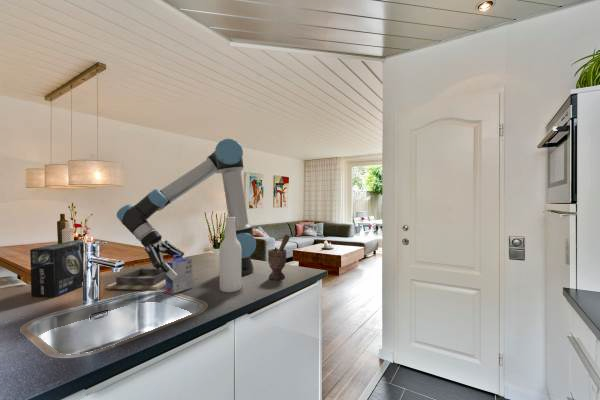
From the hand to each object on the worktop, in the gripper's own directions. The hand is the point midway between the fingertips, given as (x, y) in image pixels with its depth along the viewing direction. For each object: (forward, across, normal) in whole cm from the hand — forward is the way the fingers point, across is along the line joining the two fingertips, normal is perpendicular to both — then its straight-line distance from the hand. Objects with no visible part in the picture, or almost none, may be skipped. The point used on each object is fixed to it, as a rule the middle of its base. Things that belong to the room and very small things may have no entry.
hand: (183, 272), depth 121 cm
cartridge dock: (-10, -9, -20) cm, 25 cm away
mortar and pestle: (+31, -22, +21) cm, 43 cm away
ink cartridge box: (+4, 0, -6) cm, 7 cm away
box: (-30, +2, -40) cm, 50 cm away
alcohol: (+19, -2, +9) cm, 21 cm away
